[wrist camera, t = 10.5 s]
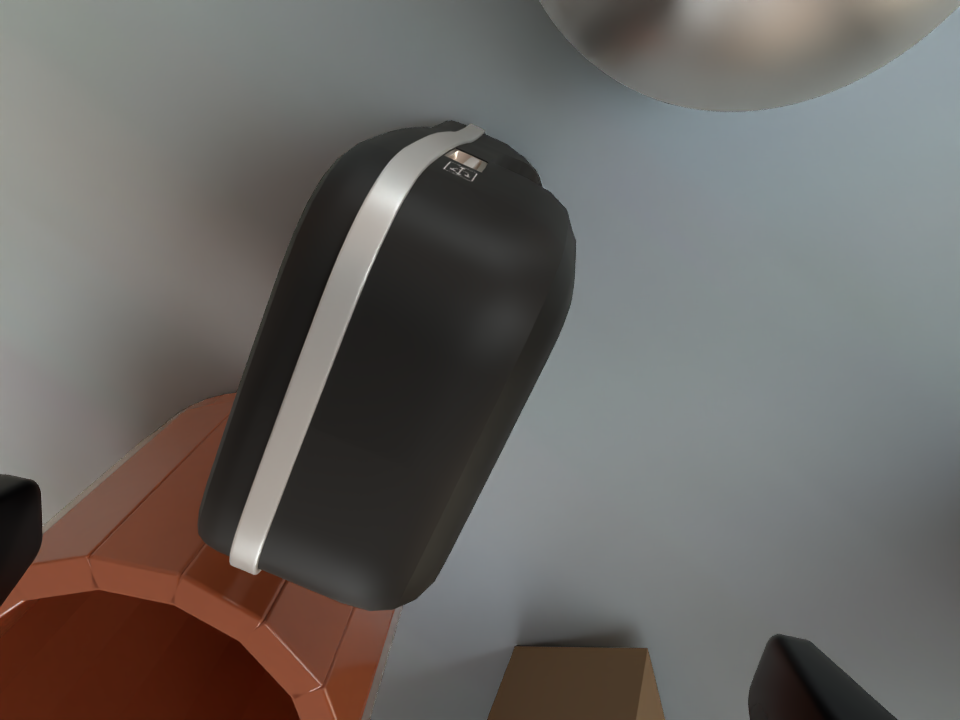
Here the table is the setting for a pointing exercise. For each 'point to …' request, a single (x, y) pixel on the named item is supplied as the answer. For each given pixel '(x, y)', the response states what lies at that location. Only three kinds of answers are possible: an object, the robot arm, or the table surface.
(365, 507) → the battery charger
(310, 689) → the terracotta pot
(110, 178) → the table surface
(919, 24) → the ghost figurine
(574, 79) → the table surface
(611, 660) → the photo frame
